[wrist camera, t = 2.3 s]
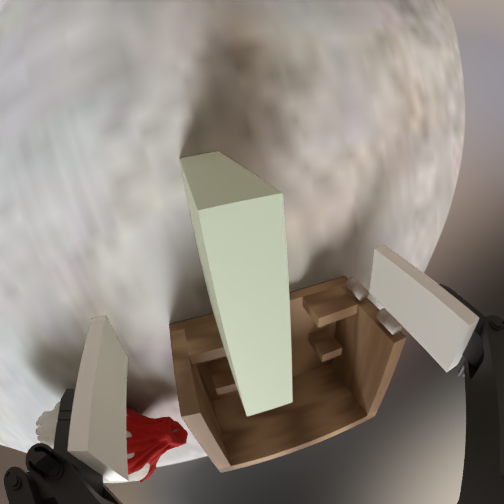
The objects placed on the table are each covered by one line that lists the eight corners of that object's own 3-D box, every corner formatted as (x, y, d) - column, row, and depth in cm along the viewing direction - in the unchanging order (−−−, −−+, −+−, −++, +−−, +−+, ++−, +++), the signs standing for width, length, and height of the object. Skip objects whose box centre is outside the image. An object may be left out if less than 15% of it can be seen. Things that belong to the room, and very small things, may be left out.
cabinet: (202, 401, 28) (220, 472, 20) (165, 313, 22) (175, 407, 14) (335, 359, 31) (374, 416, 24) (345, 264, 25) (409, 324, 17)
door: (239, 290, 23) (292, 402, 14) (209, 298, 22) (246, 416, 13) (217, 150, 18) (282, 192, 8) (179, 158, 17) (197, 210, 8)
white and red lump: (35, 391, 21) (156, 362, 26) (84, 441, 26) (186, 417, 31) (30, 461, 14) (176, 438, 18) (92, 499, 19) (209, 477, 23)
